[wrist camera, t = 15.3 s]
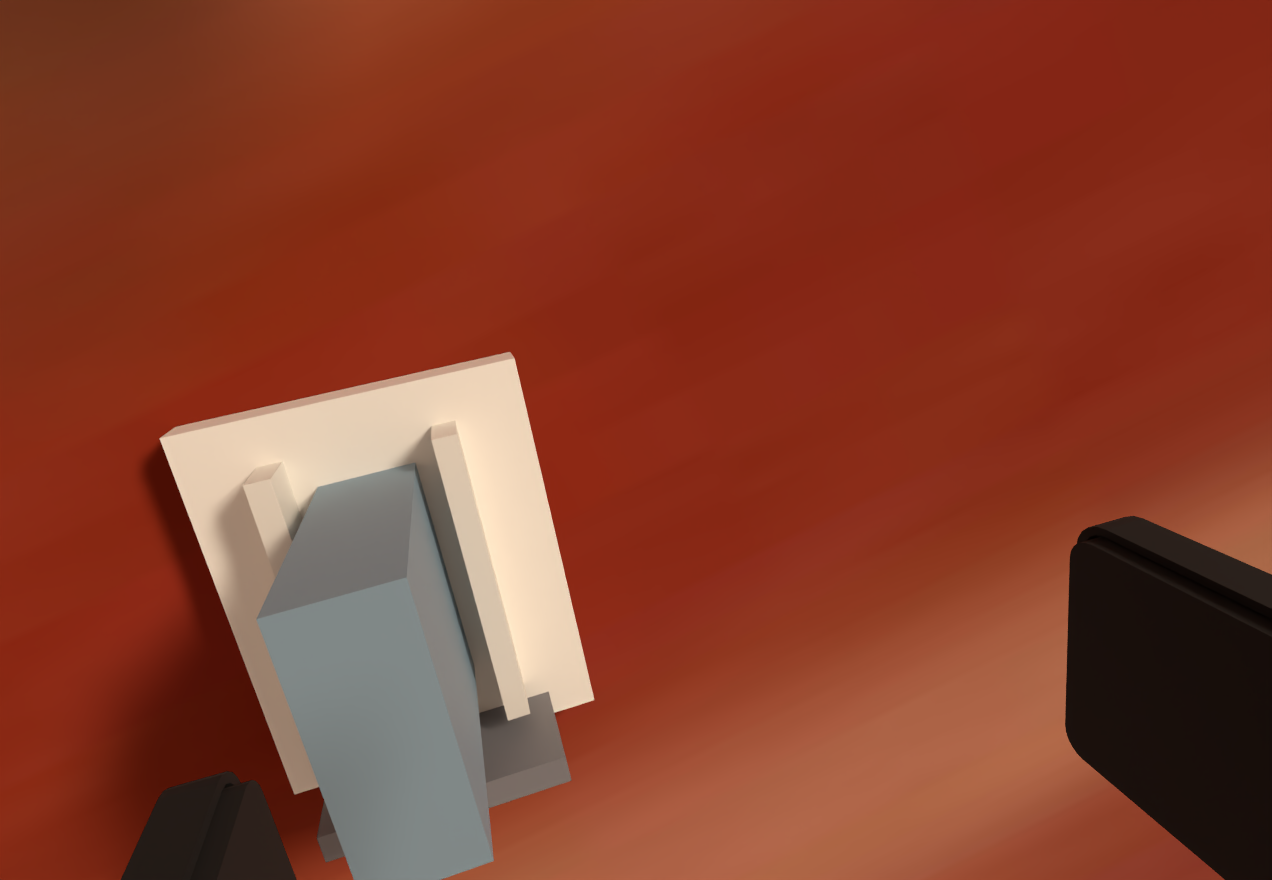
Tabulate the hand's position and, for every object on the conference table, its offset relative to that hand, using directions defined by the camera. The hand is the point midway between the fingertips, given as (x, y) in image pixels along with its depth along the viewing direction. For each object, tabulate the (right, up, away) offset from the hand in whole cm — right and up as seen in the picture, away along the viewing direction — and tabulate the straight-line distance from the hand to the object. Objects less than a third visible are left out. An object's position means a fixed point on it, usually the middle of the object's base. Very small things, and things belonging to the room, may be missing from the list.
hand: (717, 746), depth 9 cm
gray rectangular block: (-11, -3, +25) cm, 28 cm away
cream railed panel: (-12, -2, +27) cm, 30 cm away
